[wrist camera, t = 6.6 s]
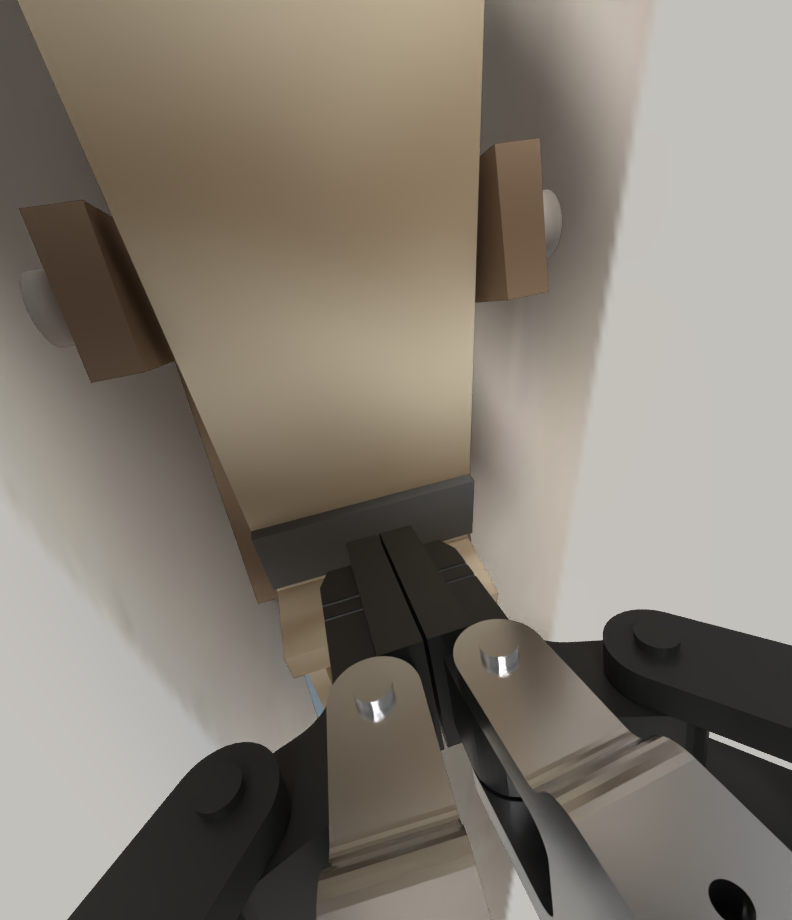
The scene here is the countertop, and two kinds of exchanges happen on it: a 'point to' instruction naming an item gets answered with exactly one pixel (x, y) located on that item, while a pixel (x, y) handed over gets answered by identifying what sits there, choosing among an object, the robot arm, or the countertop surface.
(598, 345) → the countertop surface
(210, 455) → the stand
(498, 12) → the countertop surface
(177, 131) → the lever
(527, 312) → the countertop surface
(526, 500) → the countertop surface
